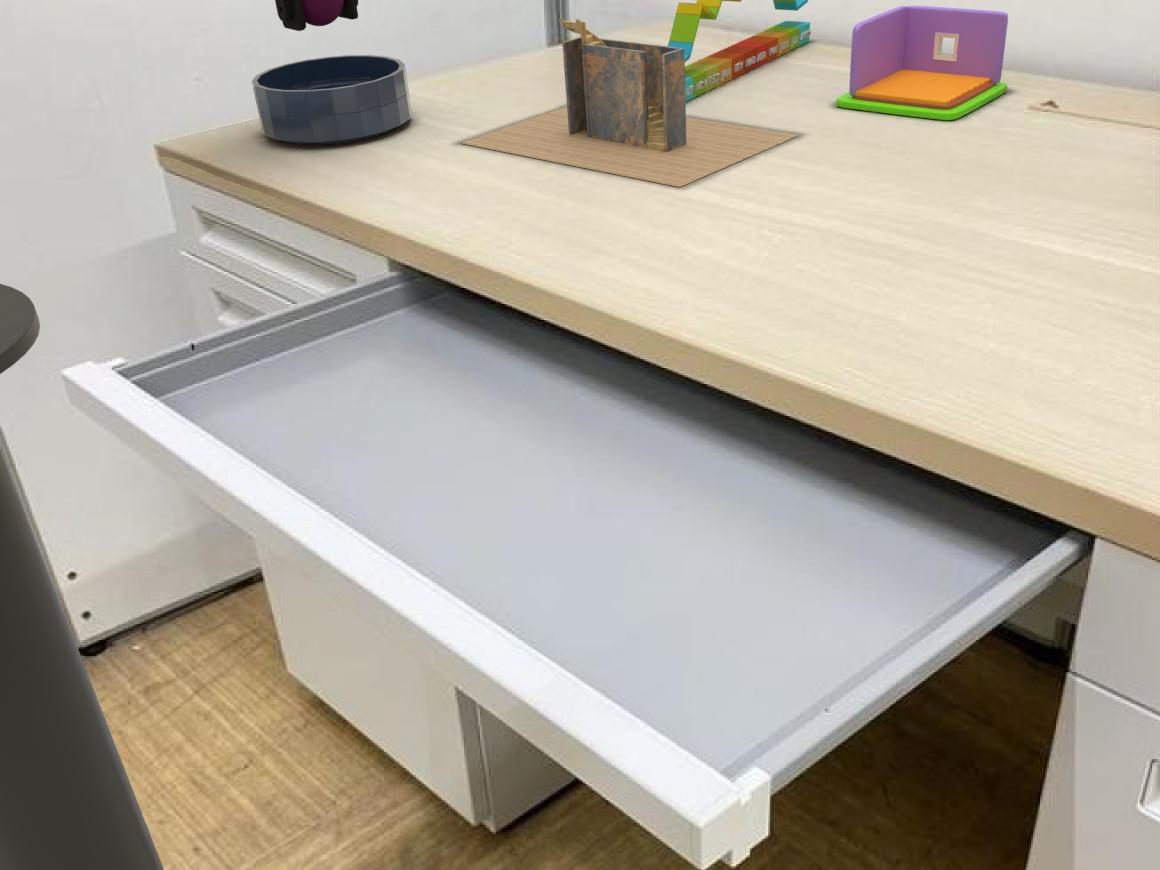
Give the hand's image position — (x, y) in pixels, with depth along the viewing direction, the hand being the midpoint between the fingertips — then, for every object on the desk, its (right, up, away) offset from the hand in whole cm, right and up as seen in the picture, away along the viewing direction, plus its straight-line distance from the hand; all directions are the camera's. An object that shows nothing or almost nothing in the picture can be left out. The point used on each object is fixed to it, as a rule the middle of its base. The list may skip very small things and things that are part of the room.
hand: (320, 20), depth 112 cm
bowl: (+1, -8, +5) cm, 9 cm away
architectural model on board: (+28, -12, -4) cm, 31 cm away
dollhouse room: (+55, -7, +1) cm, 55 cm away
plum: (0, +2, -1) cm, 2 cm away
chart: (+39, +1, +14) cm, 41 cm away
